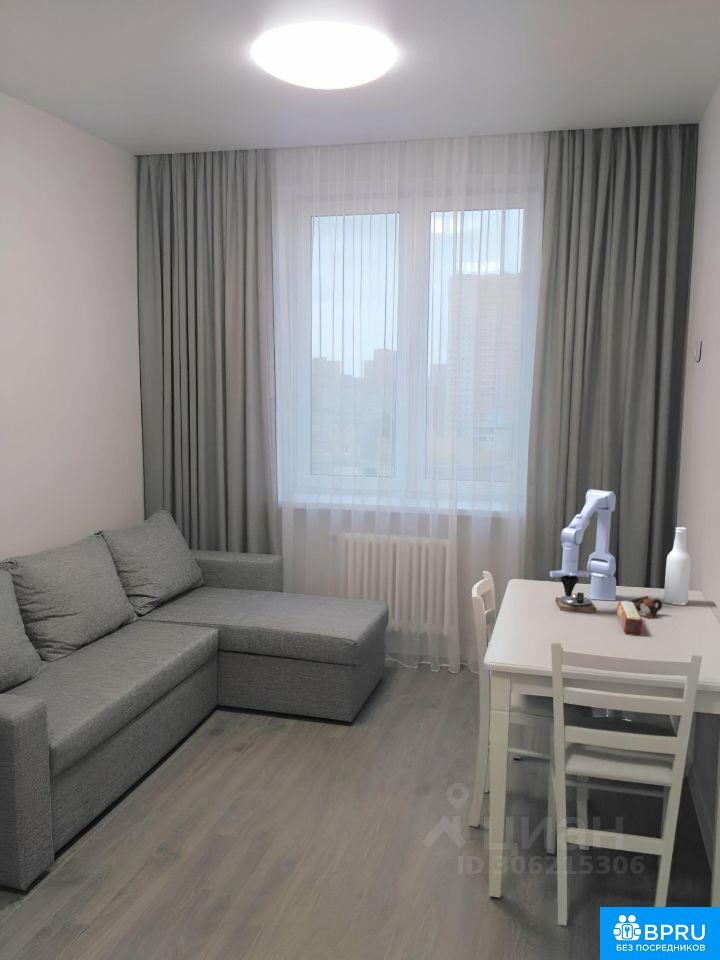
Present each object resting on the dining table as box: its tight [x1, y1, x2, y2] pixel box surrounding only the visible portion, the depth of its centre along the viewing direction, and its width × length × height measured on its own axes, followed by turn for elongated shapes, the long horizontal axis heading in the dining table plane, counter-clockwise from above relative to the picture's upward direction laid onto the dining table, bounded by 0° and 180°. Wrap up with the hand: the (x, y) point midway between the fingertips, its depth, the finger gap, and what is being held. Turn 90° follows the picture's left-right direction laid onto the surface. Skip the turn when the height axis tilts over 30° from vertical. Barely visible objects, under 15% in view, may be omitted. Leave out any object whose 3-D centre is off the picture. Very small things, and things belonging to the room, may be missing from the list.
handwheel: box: [560, 592, 592, 606], centre depth 293 cm, size 11×11×5 cm
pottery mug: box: [629, 595, 664, 619], centre depth 285 cm, size 12×10×8 cm
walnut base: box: [555, 597, 597, 613], centre depth 293 cm, size 13×13×2 cm
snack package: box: [616, 600, 644, 636], centre depth 269 cm, size 21×7×7 cm, turn 167°
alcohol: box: [663, 526, 692, 604], centre depth 302 cm, size 9×9×30 cm
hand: (568, 595), depth 287 cm, fingers closed
